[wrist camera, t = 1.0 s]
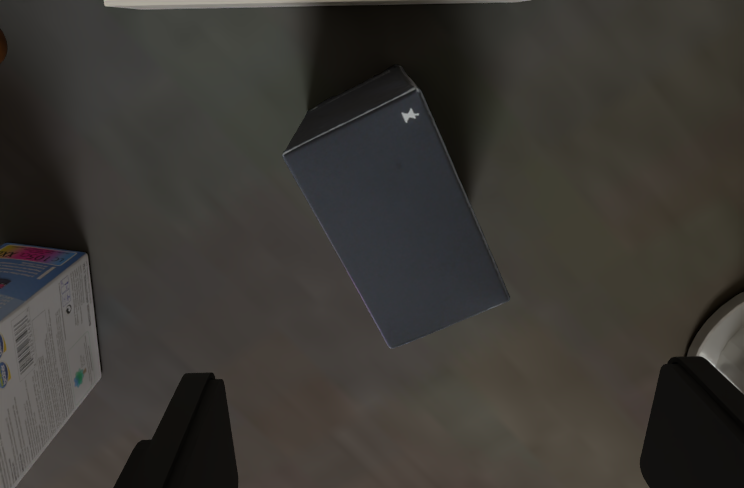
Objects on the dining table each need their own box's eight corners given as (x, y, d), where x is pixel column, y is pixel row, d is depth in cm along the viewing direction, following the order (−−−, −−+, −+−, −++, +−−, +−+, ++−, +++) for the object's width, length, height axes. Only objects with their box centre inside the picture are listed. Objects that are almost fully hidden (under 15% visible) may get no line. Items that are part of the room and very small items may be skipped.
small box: (297, 112, 30) (270, 152, 21) (401, 60, 29) (422, 76, 20) (377, 263, 34) (386, 357, 24) (471, 220, 33) (519, 300, 23)
